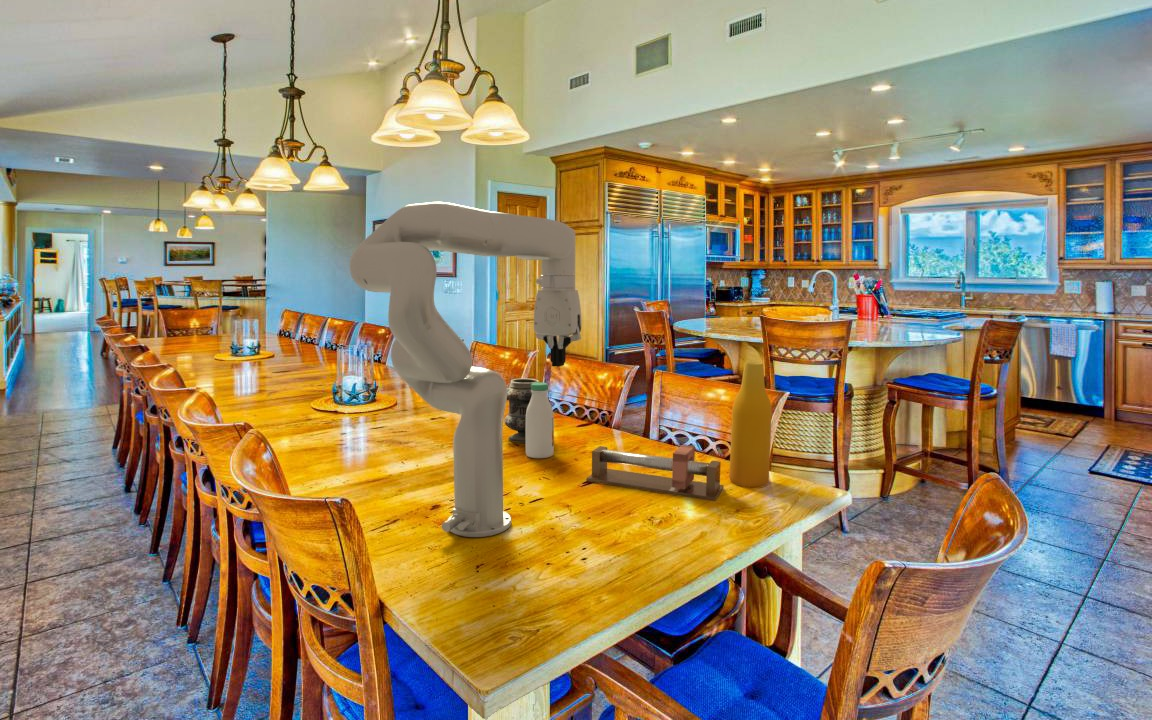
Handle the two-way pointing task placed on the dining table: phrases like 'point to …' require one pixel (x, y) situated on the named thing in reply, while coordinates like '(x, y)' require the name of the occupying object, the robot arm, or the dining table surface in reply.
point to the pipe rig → (653, 482)
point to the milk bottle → (539, 423)
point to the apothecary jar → (518, 407)
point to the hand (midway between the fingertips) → (558, 365)
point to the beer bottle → (751, 430)
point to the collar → (682, 466)
